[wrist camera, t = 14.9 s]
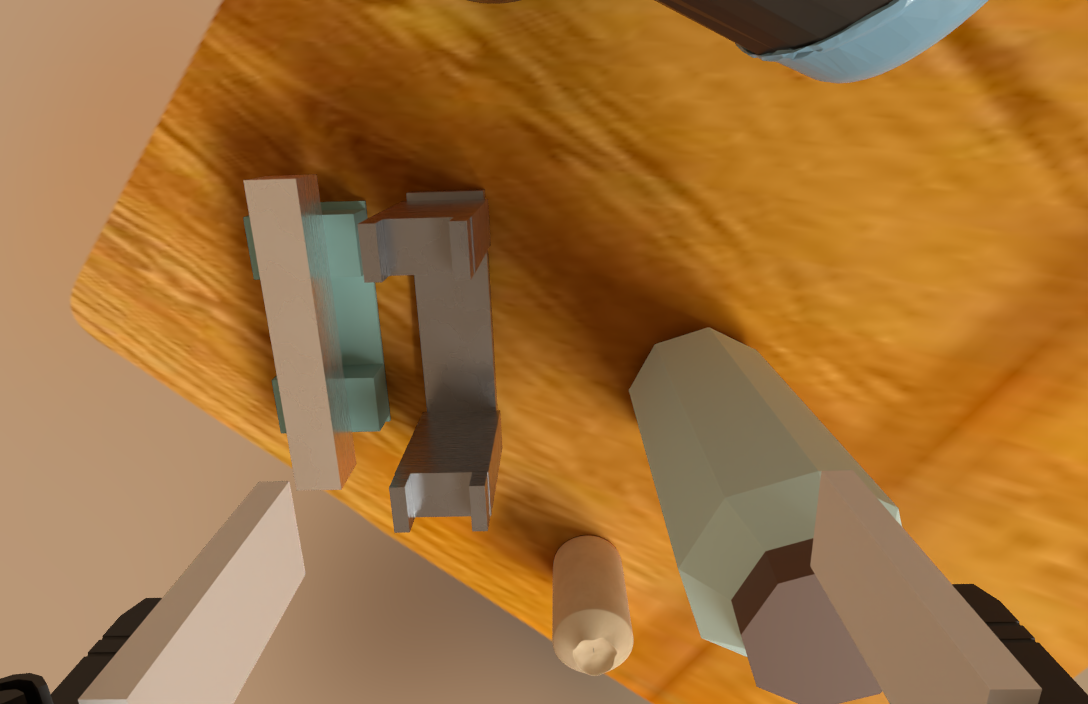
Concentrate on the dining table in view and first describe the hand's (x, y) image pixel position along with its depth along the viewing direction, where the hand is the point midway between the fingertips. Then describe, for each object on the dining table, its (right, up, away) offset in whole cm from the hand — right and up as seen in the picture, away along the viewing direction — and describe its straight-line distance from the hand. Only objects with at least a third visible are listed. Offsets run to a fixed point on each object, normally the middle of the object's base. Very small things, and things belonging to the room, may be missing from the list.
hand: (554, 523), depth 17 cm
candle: (+3, -13, +37) cm, 39 cm away
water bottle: (+11, +2, +32) cm, 34 cm away
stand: (-6, +6, +30) cm, 32 cm away
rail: (-15, +6, +28) cm, 32 cm away
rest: (-15, +7, +30) cm, 35 cm away
